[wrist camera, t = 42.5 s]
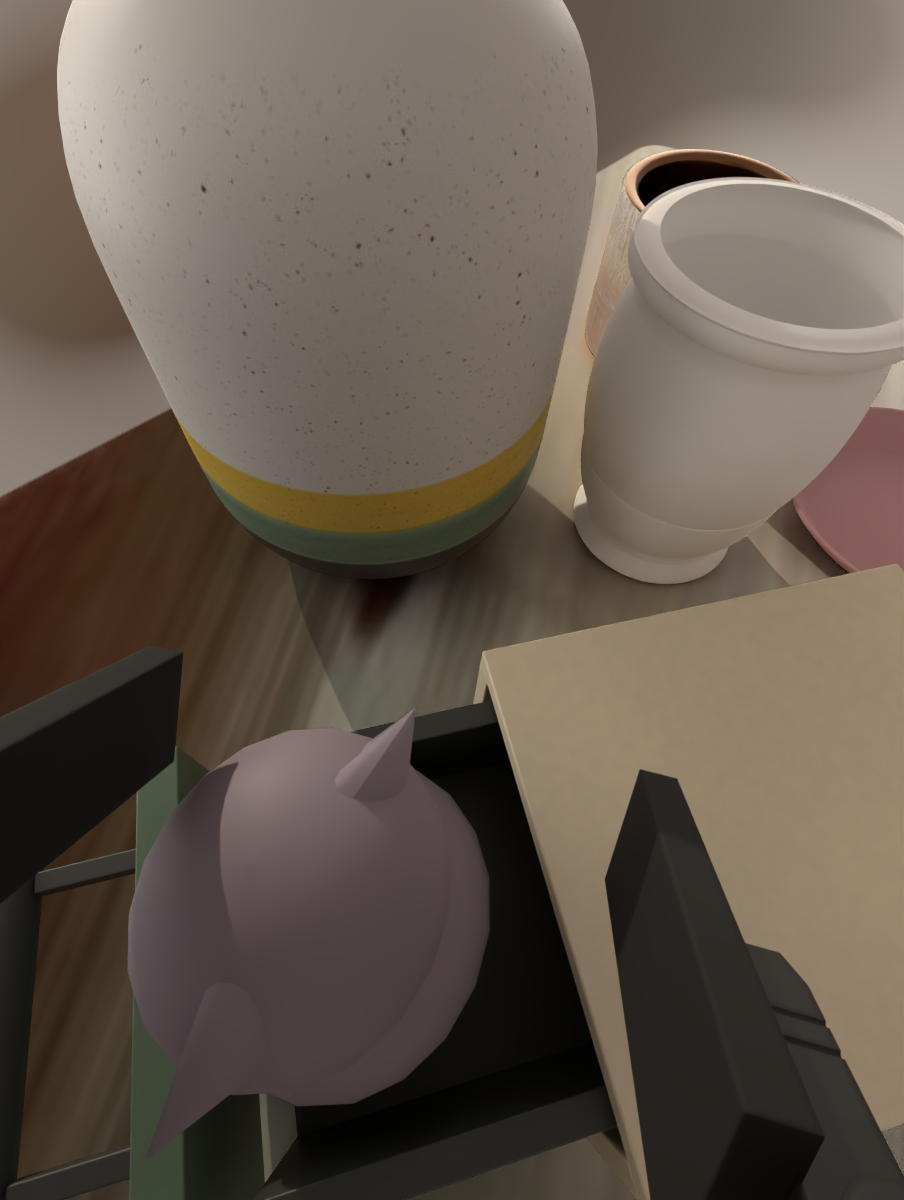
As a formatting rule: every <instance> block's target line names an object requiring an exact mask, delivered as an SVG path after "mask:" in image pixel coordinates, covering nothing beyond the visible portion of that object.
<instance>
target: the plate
mask: <svg viewBox="0 0 904 1200" xmlns="http://www.w3.org/2000/svg"><path fill="white" fill-rule="evenodd" d="M791 500H792V503H793V505H794V507H795V509H796V511H797V513H798V515H799V517H800V519H801V520H802V522H803V523H804V525H805V526H806V528H807V529H808V530H809V532H810V533H811V534H812V536H813V537H814V538H815V540H816V541H817V542H818V544H819V545H820V546H821V547H822V548H823V550H824V551H825V552H826V553H827V554H828V555H829V556H830V557H831V558H832V559H833V560H834V561H835V562H836V563H838V564H839V565H840V566H841V567H842V568H844V569H845V570H846V571H848V572H849V573H854V572H859V571H864V570H869V569H873V568H878V567H883V566H888V565H892V564H898V565H899V566H900V568H901V569H902V570H903V572H904V410H899V409H892V408H880V407H870V408H869V410H868V412H867V413H866V415H865V416H864V418H863V419H862V421H861V422H860V424H859V425H858V427H857V428H856V430H855V431H854V433H853V434H852V436H851V437H850V438H849V440H848V441H847V442H846V444H845V445H844V446H843V448H842V449H841V450H840V451H839V453H838V454H837V455H836V456H835V457H834V458H833V460H832V461H831V462H830V463H829V464H828V465H827V466H826V467H825V469H824V470H823V471H822V472H821V473H820V474H819V475H818V476H817V477H816V478H815V479H814V480H813V481H812V482H811V483H810V484H809V485H807V486H806V487H805V488H804V489H803V490H802V491H801V492H800V493H798V494H797V495H796V496H795V497H794V498H792V499H791Z"/></svg>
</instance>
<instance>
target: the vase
mask: <svg viewBox="0 0 904 1200" xmlns="http://www.w3.org/2000/svg"><path fill="white" fill-rule="evenodd" d="M57 87H58V107H59V120H60V127H61V133H62V140H63V146H64V153H65V157H66V163H67V167H68V170H69V174H70V178H71V182H72V185H73V189H74V192H75V196H76V200H77V202H78V205H79V208H80V210H81V213H82V215H83V217H84V220H85V223H86V226H87V228H88V231H89V233H90V236H91V239H92V241H93V244H94V246H95V248H96V251H97V253H98V255H99V257H100V259H101V262H102V264H103V266H104V268H105V270H106V273H107V275H108V277H109V279H110V281H111V283H112V286H113V288H114V290H115V292H116V294H117V296H118V298H119V300H120V302H121V304H122V307H123V309H124V311H125V313H126V315H127V317H128V319H129V321H130V323H131V325H132V327H133V329H134V331H135V333H136V336H137V338H138V340H139V342H140V344H141V346H142V348H143V350H144V352H145V354H146V356H147V358H148V361H149V363H150V365H151V367H152V369H153V371H154V373H155V375H156V377H157V379H158V381H159V383H160V385H161V387H162V389H163V391H164V394H165V396H166V398H167V400H168V402H169V404H170V406H171V408H172V410H173V412H174V414H175V416H176V418H177V420H178V422H179V424H180V426H181V428H182V430H183V432H184V434H185V436H186V438H187V440H188V442H189V444H190V446H191V448H192V450H193V452H194V454H195V456H196V458H197V460H198V462H199V464H200V466H201V468H202V469H203V471H204V473H205V475H206V477H207V479H208V480H209V482H210V484H211V486H212V488H213V489H214V491H215V493H216V494H217V496H218V497H219V498H220V500H221V501H222V503H223V504H224V505H225V507H226V508H227V510H228V511H229V512H230V513H231V515H232V516H233V517H234V518H235V519H236V520H237V521H238V522H239V523H240V524H241V525H242V526H243V527H244V528H245V529H246V530H247V531H248V532H249V533H250V534H251V535H253V536H254V537H255V538H256V539H258V540H259V541H260V542H261V543H263V544H264V545H266V546H267V547H268V548H270V549H271V550H273V551H274V552H276V553H278V554H279V555H281V556H283V557H285V558H287V559H288V560H290V561H292V562H295V563H297V564H299V565H301V566H303V567H306V568H309V569H312V570H314V571H318V572H321V573H325V574H329V575H334V576H339V577H346V578H356V579H387V578H395V577H402V576H407V575H412V574H416V573H420V572H423V571H427V570H429V569H432V568H435V567H438V566H440V565H443V564H445V563H447V562H449V561H451V560H453V559H455V558H457V557H459V556H461V555H462V554H464V553H466V552H467V551H469V550H470V549H471V548H473V547H474V546H476V545H477V544H478V543H479V542H481V541H482V540H483V539H484V538H485V537H487V536H488V535H489V534H490V533H491V532H492V531H493V530H494V529H495V528H496V527H497V526H498V525H499V523H500V522H501V521H502V520H503V519H504V518H505V516H506V515H507V514H508V513H509V512H510V510H511V509H512V507H513V506H514V504H515V503H516V501H517V500H518V498H519V497H520V495H521V493H522V491H523V490H524V488H525V486H526V483H527V481H528V479H529V477H530V474H531V472H532V469H533V467H534V464H535V461H536V458H537V454H538V451H539V447H540V443H541V440H542V436H543V432H544V428H545V424H546V419H547V415H548V411H549V407H550V402H551V398H552V394H553V390H554V385H555V381H556V376H557V372H558V368H559V363H560V359H561V354H562V350H563V345H564V341H565V337H566V332H567V328H568V323H569V319H570V314H571V310H572V305H573V301H574V296H575V292H576V287H577V283H578V278H579V274H580V269H581V265H582V260H583V255H584V250H585V245H586V240H587V235H588V230H589V225H590V220H591V214H592V207H593V200H594V192H595V185H596V166H597V130H596V129H597V128H596V114H595V103H594V95H593V90H592V83H591V77H590V71H589V65H588V62H587V59H586V55H585V52H584V48H583V45H582V42H581V38H580V35H579V33H578V31H577V28H576V26H575V24H574V22H573V20H572V18H571V15H570V13H569V11H568V9H567V8H566V6H565V4H564V2H563V1H562V0H73V2H72V4H71V7H70V9H69V12H68V15H67V18H66V22H65V25H64V29H63V33H62V37H61V41H60V46H59V57H58V68H57Z"/></svg>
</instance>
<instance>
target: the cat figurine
mask: <svg viewBox="0 0 904 1200" xmlns="http://www.w3.org/2000/svg"><path fill="white" fill-rule="evenodd" d="M415 712H416V707H415V708H413V709H412V710H411V711H409V712H408V713H407V714H405V715H404V716H403V717H401V718H400V719H399V720H397V721H396V722H395V723H394V724H392V725H391V726H390V727H388V728H387V729H386V730H384V731H383V732H382V733H380V734H379V735H378V736H376V737H375V738H374V739H373V738H370V737H366V736H362V735H358V734H355V733H351V732H347V731H344V730H340V729H336V728H319V729H305V730H291V731H287V732H284V733H281V734H279V735H276V736H273V737H271V738H268V739H265V740H263V741H260V742H257V743H255V744H252V745H250V746H247V747H244V748H243V749H241V750H240V751H239V752H237V753H236V754H234V755H233V756H231V757H230V758H229V759H227V760H226V761H224V762H223V763H222V764H220V765H219V766H217V767H216V768H214V769H213V770H212V771H210V772H209V773H207V774H206V775H205V776H204V777H203V778H202V779H201V780H200V781H199V782H198V784H197V785H196V786H195V787H194V788H193V789H192V790H191V791H190V793H189V794H188V795H187V796H186V797H185V798H184V799H183V800H182V801H181V803H180V804H179V805H178V806H177V807H176V808H175V809H174V810H173V812H172V813H171V814H170V816H169V818H168V819H167V821H166V823H165V825H164V827H163V828H162V830H161V832H160V834H159V835H158V837H157V839H156V841H155V843H154V844H153V846H152V848H151V850H150V851H149V853H148V855H147V857H146V859H145V860H144V864H143V867H142V870H141V874H140V877H139V881H138V884H137V888H136V891H135V895H134V898H133V901H132V905H131V908H130V912H129V929H128V974H129V978H130V982H131V985H132V988H133V992H134V995H135V998H136V1002H137V1005H138V1008H139V1011H140V1015H141V1018H142V1021H143V1025H144V1028H145V1029H146V1031H147V1032H148V1033H149V1034H150V1035H151V1037H152V1038H153V1039H154V1040H155V1041H156V1043H157V1044H158V1045H159V1046H160V1048H161V1049H162V1050H163V1051H164V1052H165V1054H166V1055H167V1056H168V1057H169V1058H170V1060H171V1061H172V1062H173V1063H174V1064H175V1066H176V1067H177V1068H178V1069H177V1072H176V1074H175V1077H174V1080H173V1083H172V1086H171V1088H170V1091H169V1094H168V1097H167V1100H166V1103H165V1105H164V1108H163V1111H162V1114H161V1117H160V1119H159V1122H158V1125H157V1128H156V1131H155V1133H154V1136H153V1139H152V1142H151V1145H150V1148H149V1150H148V1153H147V1156H146V1159H145V1161H146V1160H147V1159H148V1158H150V1157H151V1156H152V1155H154V1154H155V1153H156V1152H157V1151H159V1150H160V1149H161V1148H162V1147H164V1146H165V1145H166V1144H168V1143H169V1142H170V1141H171V1140H173V1139H174V1138H175V1137H176V1136H178V1135H179V1134H180V1133H182V1132H183V1131H184V1130H185V1129H187V1128H188V1127H189V1126H191V1125H192V1124H193V1123H194V1122H196V1121H197V1120H198V1119H199V1118H201V1117H202V1116H203V1115H205V1114H206V1113H207V1112H208V1111H210V1110H211V1109H212V1108H213V1107H215V1106H216V1105H217V1104H219V1103H220V1102H221V1101H222V1100H224V1099H225V1098H226V1097H227V1096H229V1095H230V1094H231V1095H246V1094H270V1095H272V1096H274V1097H277V1098H279V1099H281V1100H284V1101H286V1102H288V1103H291V1104H293V1105H295V1106H315V1105H337V1104H354V1103H356V1102H358V1101H360V1100H363V1099H365V1098H367V1097H369V1096H371V1095H373V1094H375V1093H377V1092H379V1091H381V1090H384V1089H386V1088H388V1087H390V1086H392V1085H394V1084H396V1083H398V1082H400V1081H402V1080H404V1079H405V1078H406V1077H407V1076H408V1075H409V1074H410V1073H411V1072H412V1071H413V1070H414V1069H415V1068H416V1067H417V1066H418V1065H419V1064H421V1063H422V1062H423V1061H424V1060H425V1059H426V1058H427V1057H428V1056H429V1055H430V1054H431V1053H432V1052H433V1051H434V1050H435V1049H436V1048H437V1047H438V1046H439V1045H440V1044H441V1043H442V1042H443V1041H444V1040H445V1039H446V1038H447V1036H448V1034H449V1032H450V1031H451V1029H452V1027H453V1025H454V1024H455V1022H456V1020H457V1018H458V1016H459V1015H460V1013H461V1011H462V1009H463V1008H464V1006H465V1004H466V1002H467V1000H468V999H469V997H470V995H471V993H472V992H473V990H474V988H475V986H476V982H477V978H478V975H479V971H480V967H481V963H482V959H483V955H484V951H485V947H486V943H487V940H488V936H489V932H490V896H489V875H488V871H487V868H486V865H485V861H484V858H483V855H482V851H481V848H480V845H479V841H478V838H477V835H476V832H475V830H474V829H473V827H472V826H471V824H470V823H469V821H468V820H467V819H466V817H465V816H464V814H463V813H462V811H461V810H460V808H459V807H458V805H457V804H456V802H455V801H454V800H453V798H452V797H451V795H450V794H449V793H447V792H446V791H445V790H443V789H442V788H440V787H439V786H438V785H436V784H435V783H434V782H432V781H431V780H429V779H428V778H427V777H425V776H424V775H423V774H421V773H420V772H418V771H416V770H414V768H413V767H412V766H411V764H410V757H411V748H412V739H413V730H414V721H415Z"/></svg>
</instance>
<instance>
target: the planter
mask: <svg viewBox="0 0 904 1200" xmlns="http://www.w3.org/2000/svg"><path fill="white" fill-rule="evenodd" d="M727 177H753V178H767V179H776V180H783V181H790V182H795V183H799V182H798V181H797V180H795V179H794V178H793V177H791V176H789V175H788V174H786V173H784V172H783V171H781V170H779V169H777V168H775V167H773V166H771V165H768V164H766V163H763V162H761V161H758V160H755V159H752V158H749V157H745V156H741V155H737V154H733V153H727V152H722V151H713V150H701V149H685V150H673V151H667V152H662V153H658V154H654V155H651V156H649V157H646V158H644V159H642V160H640V161H638V162H637V163H635V164H634V165H633V166H632V167H630V168H629V170H628V171H627V172H626V174H625V176H624V178H623V181H622V184H621V188H620V192H619V196H618V200H617V204H616V208H615V211H614V215H613V219H612V223H611V227H610V231H609V235H608V238H607V242H606V246H605V250H604V254H603V257H602V261H601V265H600V268H599V272H598V276H597V279H596V283H595V287H594V291H593V294H592V298H591V302H590V306H589V309H588V313H587V317H586V324H585V338H586V342H587V345H588V348H589V350H590V351H591V353H592V355H593V356H594V357H596V354H597V351H598V348H599V345H600V342H601V339H602V337H603V334H604V331H605V329H606V326H607V324H608V322H609V319H610V317H611V315H612V312H613V310H614V308H615V306H616V304H617V302H618V300H619V298H620V296H621V294H622V292H623V290H624V289H625V287H626V285H627V283H628V282H629V280H630V279H631V277H632V276H631V272H630V269H629V264H628V247H629V241H630V237H631V234H632V232H633V229H634V227H635V225H636V222H637V220H638V217H639V215H640V214H641V212H642V211H643V209H644V208H645V207H646V206H647V205H648V204H649V203H650V202H651V201H652V200H653V199H655V198H656V197H658V196H659V195H661V194H663V193H664V192H666V191H668V190H671V189H673V188H675V187H678V186H681V185H684V184H688V183H692V182H696V181H701V180H707V179H715V178H727Z"/></svg>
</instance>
